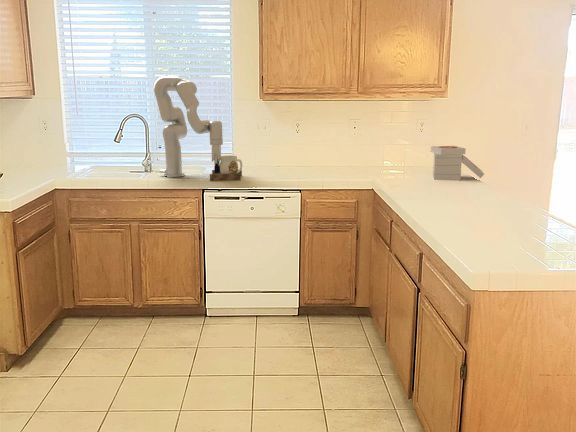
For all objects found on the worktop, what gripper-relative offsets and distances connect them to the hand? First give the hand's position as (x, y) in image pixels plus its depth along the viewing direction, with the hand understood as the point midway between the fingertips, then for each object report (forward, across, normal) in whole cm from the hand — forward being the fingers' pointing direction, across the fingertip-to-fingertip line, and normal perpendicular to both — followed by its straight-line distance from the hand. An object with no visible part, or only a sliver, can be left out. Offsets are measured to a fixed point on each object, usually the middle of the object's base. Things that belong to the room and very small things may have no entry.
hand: (217, 172), depth 356 cm
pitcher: (+4, 0, +8) cm, 9 cm away
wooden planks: (+4, 0, +5) cm, 6 cm away
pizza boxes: (+4, +10, +141) cm, 142 cm away
